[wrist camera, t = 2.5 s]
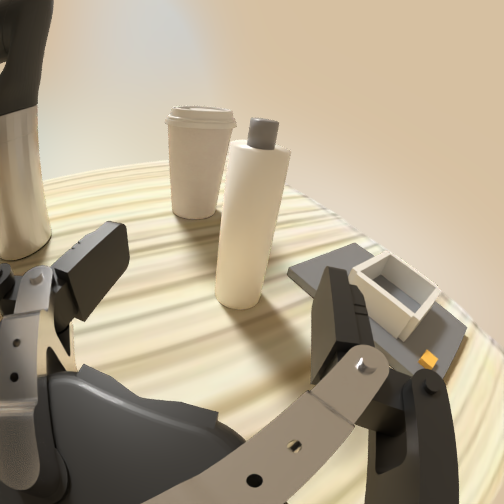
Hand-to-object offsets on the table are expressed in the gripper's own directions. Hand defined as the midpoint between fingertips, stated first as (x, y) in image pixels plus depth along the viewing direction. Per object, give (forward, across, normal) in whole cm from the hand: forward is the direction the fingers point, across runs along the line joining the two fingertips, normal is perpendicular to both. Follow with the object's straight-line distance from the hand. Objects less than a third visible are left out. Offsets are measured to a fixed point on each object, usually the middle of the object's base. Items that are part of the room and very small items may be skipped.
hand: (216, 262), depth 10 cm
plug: (+12, 0, +12) cm, 16 cm away
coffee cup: (+27, +10, +11) cm, 31 cm away
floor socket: (+14, -16, +12) cm, 24 cm away
